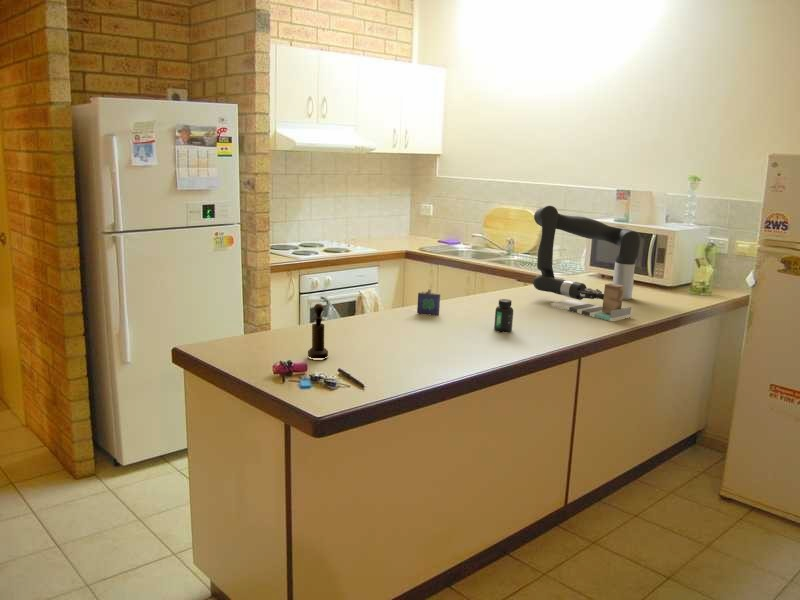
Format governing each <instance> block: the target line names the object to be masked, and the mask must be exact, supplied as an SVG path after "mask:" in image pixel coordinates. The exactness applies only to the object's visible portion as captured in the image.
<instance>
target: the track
mask: <svg viewBox="0 0 800 600" xmlns="http://www.w3.org/2000/svg"><path fill="white" fill-rule="evenodd" d="M552 306H553V308H556V307H557V308H556V309H560V308H561V310H564V309H565V310H564V311H568V310H569V311H568V312H572V311H573V313H575V312H576V314H579V315H580V314H581V315H583V314H584V315H583V316H587V315H588V317H591V316H592V317H591V318H595V317H596V318H595V319H599V318H601V319H600V320H603V319H604V321H607V320H608V322H611V321H613V322H616V321H621V320H625V318H626V319H629V317H630V318H631V312H632V306H627V307H621V309H617V310H612V311H611V314H609V313H605V312H602V307H603V306H599V305H596V304H592V303H587V302H582V301H578V300H575V299H565V300H560V301H556V302H555V301H554V302H551V303H550V307H552Z"/></svg>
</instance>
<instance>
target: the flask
mask: <svg viewBox="0 0 800 600" xmlns="http://www.w3.org/2000/svg"><path fill="white" fill-rule="evenodd" d="M440 302H441V293H438V292H437V293H434V292H432V289H431V288H428V290H427V291H422V292H418V293H417V307H416V308H417V310H416V314H417V313H419V314H418V315H421V314H431V315H430V316H439V315H440V308H441V307H440V305H441V303H440Z"/></svg>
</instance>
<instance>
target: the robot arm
mask: <svg viewBox="0 0 800 600" xmlns="http://www.w3.org/2000/svg"><path fill="white" fill-rule="evenodd" d="M533 219H534V222H535V223H536V225H538V226H540V227H541V236H540V242H539V246H538V249H537V257H536V258H537V259H536V268H537V270H538V271H540V273H541V275H537V276H535V277H534V279H533V281H532V284H533V287H534V288H535V289H536V290H537V291H541V292H547V293H553V294H556V295H560V296H564V297H565V298H566V297H567V298H570V299H572V300H577V301H578V300H579V301H581V300H584V299H589V300H595V299H596V300H599V299H600V300H602V301H603V298H604V293H603V291H601V290H599V289H598V288H597V289H592V288H590V287H587V286H586V284H585V283H583V282H578V281H573V280H566V279H563V278H562V279H561V278H555V274H554V273H555V272H554V270H553V259H554V257H553V255H554V243H555V237H556V230H560V231H562V232H566V233H569V234H572V235H575V236H578V237H581V238H585V239H590V240H595V241H605V242H608V243H610V244H613V245H615V246H618V247H619V252H618V255H617V256H615V260H614V261H615V262H614V269H613V278H612V283H613V284H618V285H622V286H624V290H623V298H622V301H623V300H626V301H627V300H628V301H629V300H631V298H633V290H634V289H633V288H634V280H635V279H634V275H635V268H636V261H637V259H638V256H639V251H640V245H641V236H640V235H639V233H638V232H637V231H635V230H631V229H629V228H621V227H615V226H610V225H607V224H605V223H603V222H601V221H598V220H596V219H592V218H589V217H586V216H580V215H579V216H578V215H566V214H561V213H559V212H558V210H557V208H556V207H555V206H553V205H545V206H543V207H540V208H539V209H537V210H536V211H535V212H534V214H533Z"/></svg>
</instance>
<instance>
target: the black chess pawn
mask: <svg viewBox="0 0 800 600" xmlns="http://www.w3.org/2000/svg"><path fill="white" fill-rule="evenodd" d="M324 309H325V308H324V306H323V304H322V303H316V304H315V305H314V307H313V310H314V312H315V314H316V315H315V317H314V322H315V323H312V325H311V348H310V349H308V351H307V357H308V356H309V357H311V358H325V357H327V356H328V357H329V351H328V349H327V348H325V324H324V323H322V321H323V316H322V313H323V311H324Z"/></svg>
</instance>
